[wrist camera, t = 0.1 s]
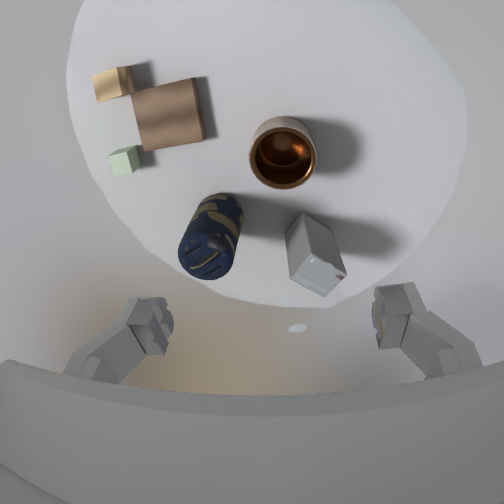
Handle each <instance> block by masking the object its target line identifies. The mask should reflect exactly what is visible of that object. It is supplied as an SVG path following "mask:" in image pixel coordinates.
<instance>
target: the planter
mask: <svg viewBox="0 0 504 504" xmlns="http://www.w3.org/2000/svg"><path fill="white" fill-rule="evenodd" d="M249 163H250V167H251V170H252V172H253V173H254V175H255V176H256V178H257V179H258V180H259V181H260V182H262V183H263V184H265V185H266V186H268V187H271V188H274V189H279V190H287V189H293V188H296V187H298V186H300V185H302V184H304V183H305V182H306V181H307V180H308V179H309V178H310V177H311V176H312V174H313V172H314V170H315V167H316V163H317V154H316V149H315V146H314V144H313V141H312V138H311V135H310V133H309V131H308V130H307V128H306V127H305V126H304V125H303V124H302V123H300V122H299V121H297V120H295V119H292V118H289V117H275V118H272V119H269V120H267V121H266V122H264V123H263V124H262V125H261V126H260V127H259V128H258V129H257V131H256V133H255V135H254V138H253V142H252V145H251V148H250V152H249Z"/></svg>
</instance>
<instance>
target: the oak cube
mask: <svg viewBox="0 0 504 504" xmlns="http://www.w3.org/2000/svg"><path fill="white" fill-rule="evenodd" d="M92 80H93V85H94V89H95V94H96V98H97V103H100V102H103V101H106V100H109V99H112V98H115V97H119V96H122V95H125V94H128V93H131V92H135V90H134V85H133V80H132V75H131V70H130V66H124V67H116V68H113V69H110V70H108V71H105V72H102V73H100V74H97V75H95V76H92Z"/></svg>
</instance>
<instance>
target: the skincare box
mask: <svg viewBox="0 0 504 504" xmlns="http://www.w3.org/2000/svg"><path fill="white" fill-rule="evenodd" d="M285 240H286V249H287V257H288V265H289V274H290V279H291V280H293V281H295V282H297V283H299V284H300V285H302V286H304V287H306V288H308V289H309V290H311V291H313V292H315V293H317V294H319V295H321V296H323V297H325V296H326V295H327V294H328V293H329V292H330V291H331V290H332V289H333V288H334V287H335V286H336V285H337V284H338V283H339V282H340V281H341V280H342V279H343V278H344V277H345V276H346V275H347V273H346V270H345V267H344V264H343V261H342V259H341V256H340V253H339V250H338V247H337V245H336V242H335V239H334V236H333V234H332V231H331V230H330V229H328V228H327V227H325V226H324V225H322V224H321V223H319V222H317V221H316V220H314V219H313V218H311V217H309V216H308V215H306V214H305V213H303V212H302V213H301V214H300V215H299V216H298V218H297V219H296V220H295V221H294V223H293V224H292V225H291V226H290V228H289V229H288V230H287V231H286V233H285Z"/></svg>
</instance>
